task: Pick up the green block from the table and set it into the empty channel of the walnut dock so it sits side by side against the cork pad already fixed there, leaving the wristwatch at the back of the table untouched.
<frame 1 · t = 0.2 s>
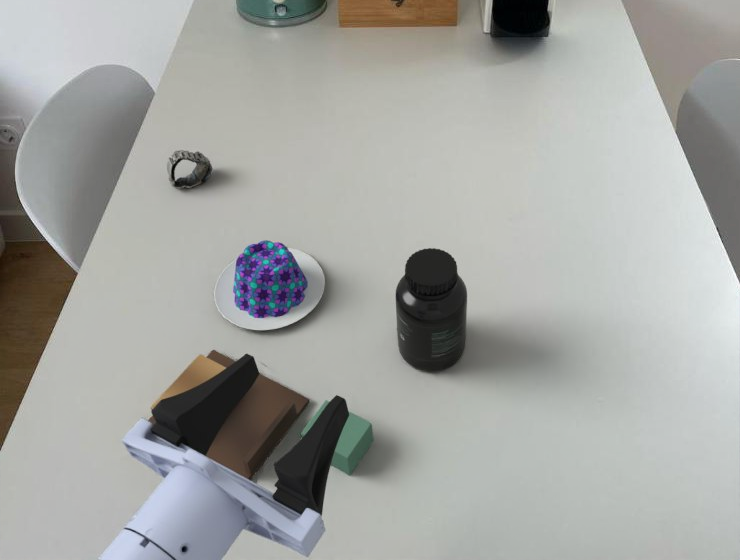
hand: (296, 383, 56), 20 cm above the table, tool horizontal, fingers open, 7 cm apart
pudding: (270, 292, 89), on the table
green block: (339, 445, 75), on the table
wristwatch: (192, 181, 103), on the table
pad dock: (225, 419, 77), on the table
supplement bottle: (431, 347, 83), on the table
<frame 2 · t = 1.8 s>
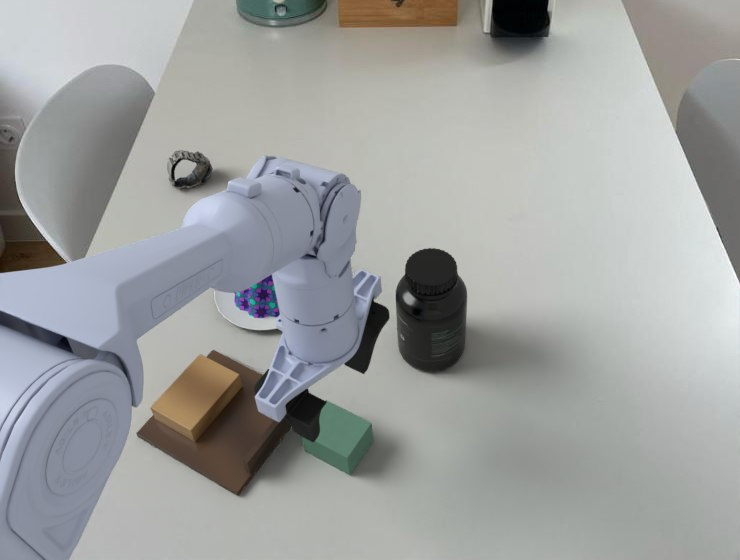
hand: (332, 399, 70), 7 cm above the table, tool pointing down, fingers open, 7 cm apart
nothing on the table moved.
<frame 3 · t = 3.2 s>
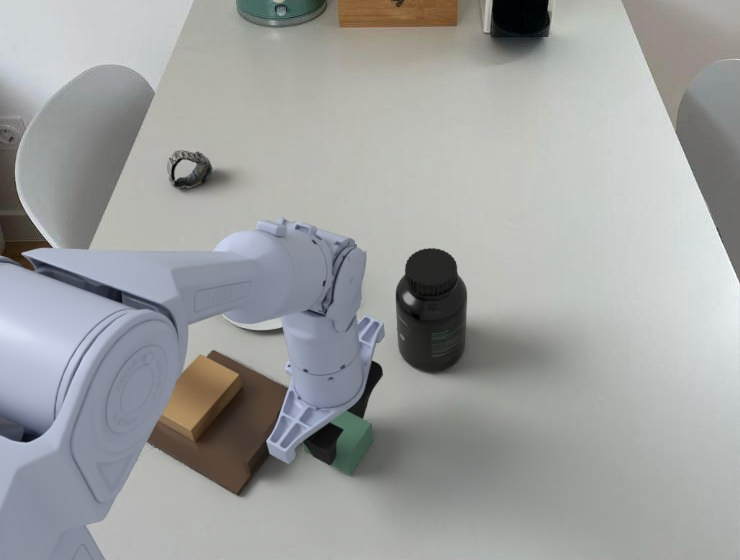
hand: (337, 437, 74), 1 cm above the table, tool pointing down, fingers closed on green block, 4 cm apart
green block: (338, 446, 74), on the table, touching gripper
everything else where it was.
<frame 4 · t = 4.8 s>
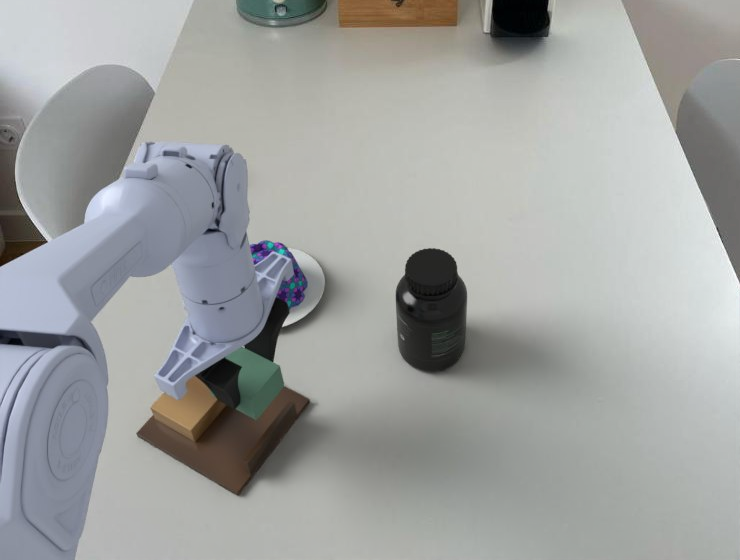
hand: (245, 381, 70), 8 cm above the table, tool pointing down, fingers closed on green block, 4 cm apart
green block: (248, 390, 71), point 7 cm above the table, touching gripper
everything else where it was.
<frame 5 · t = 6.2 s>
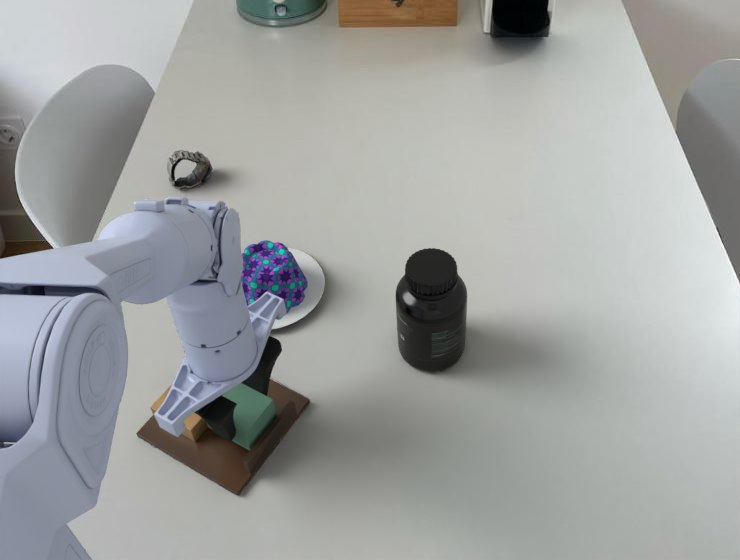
hand: (241, 414, 74), 3 cm above the table, tool pointing down, fingers closed on green block, 4 cm apart
green block: (243, 422, 75), point 1 cm above the table, touching gripper
everything else where it was.
when the fingers open (2 cm above the table, at t = 6.8 s): green block stays where it is, resting on pad dock.
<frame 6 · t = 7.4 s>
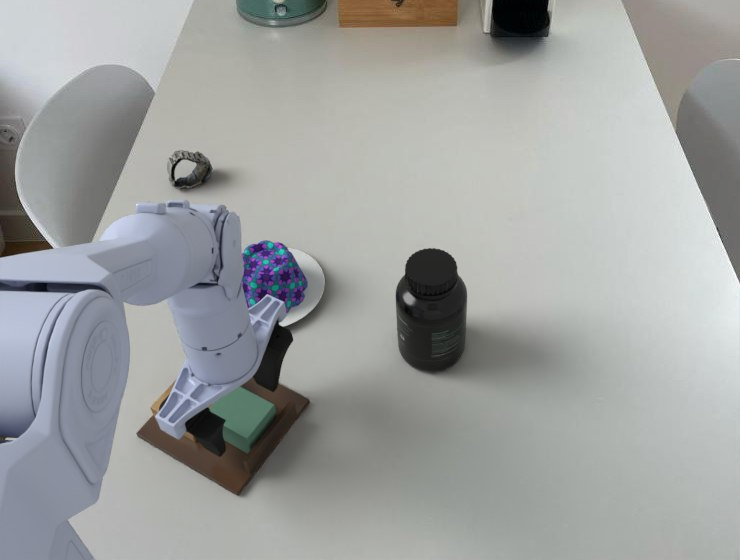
hand: (241, 416, 74), 2 cm above the table, tool pointing down, fingers open, 7 cm apart
green block: (244, 427, 76), point 1 cm above the table, touching pad dock
everything else where it was.
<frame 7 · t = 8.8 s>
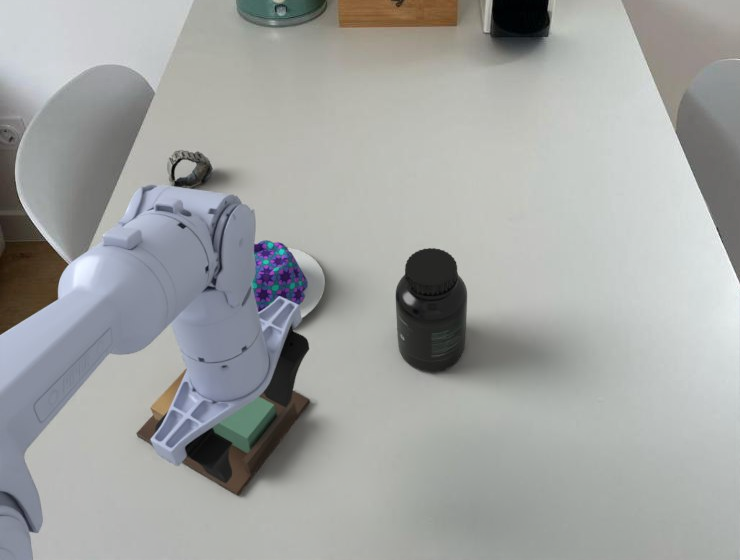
hand: (249, 435, 65), 9 cm above the table, tool pointing down, fingers open, 7 cm apart
nothing on the table moved.
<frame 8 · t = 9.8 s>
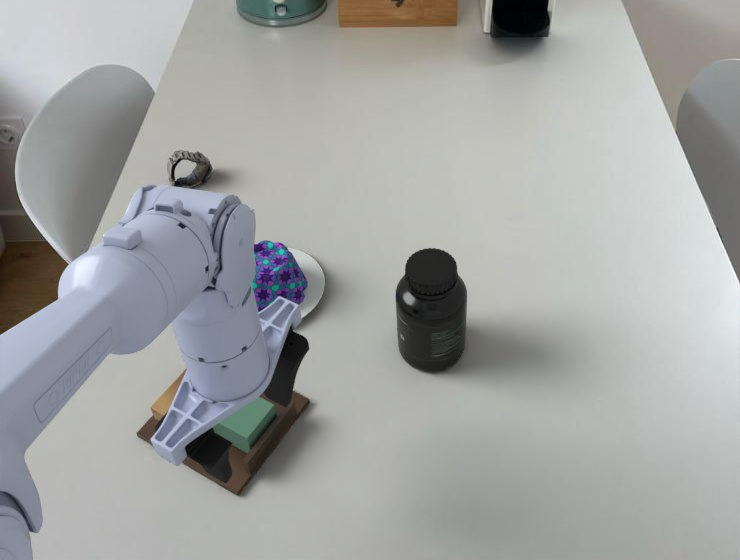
hand: (249, 435, 65), 9 cm above the table, tool pointing down, fingers open, 7 cm apart
nothing on the table moved.
at the end: green block 0.0 cm from the target spot on the pad dock, point 0.6 cm above the pad dock's base; green block tilted 0°; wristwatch moved 0.2 cm from its start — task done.
